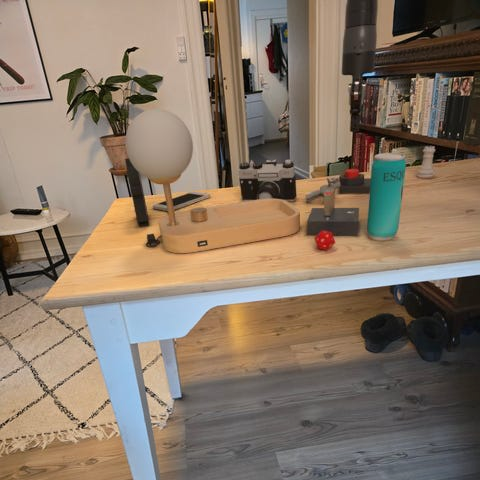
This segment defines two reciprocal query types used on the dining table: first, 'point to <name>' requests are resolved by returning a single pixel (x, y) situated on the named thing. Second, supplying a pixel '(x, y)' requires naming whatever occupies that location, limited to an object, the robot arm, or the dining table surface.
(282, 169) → the camera
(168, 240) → the lamp
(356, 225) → the dial block
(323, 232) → the die
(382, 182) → the beverage can
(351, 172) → the button
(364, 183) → the box
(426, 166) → the rook chess piece
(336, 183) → the elephant figurine
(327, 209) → the grey rectangular plate
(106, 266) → the dining table surface
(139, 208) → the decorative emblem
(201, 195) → the smartphone
